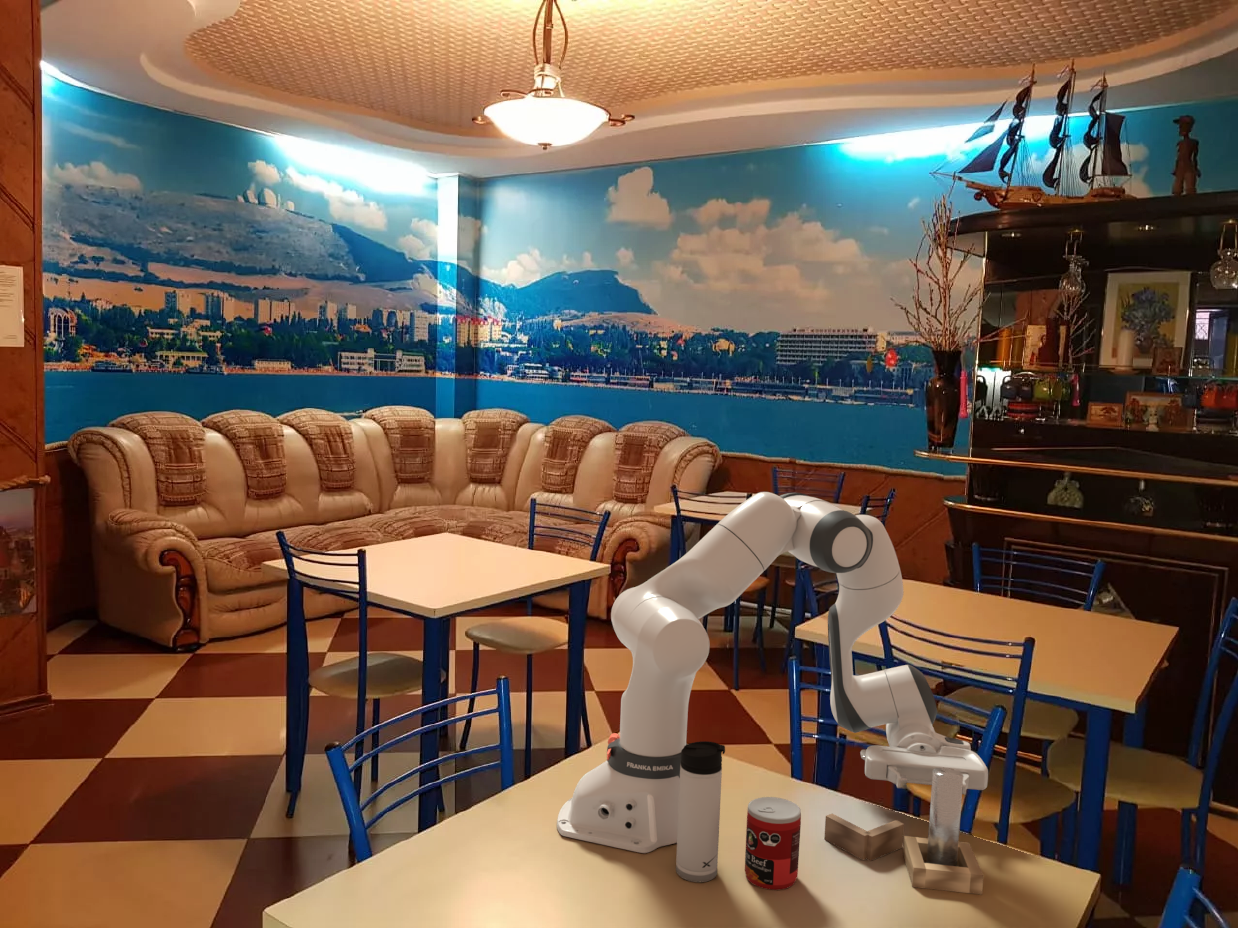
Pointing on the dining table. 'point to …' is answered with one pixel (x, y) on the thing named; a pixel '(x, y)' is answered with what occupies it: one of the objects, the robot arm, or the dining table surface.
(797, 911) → the dining table surface
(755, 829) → the canned food
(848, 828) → the walnut V-block
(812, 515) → the robot arm
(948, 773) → the steel axle
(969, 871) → the oak collar
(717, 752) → the travel mug
